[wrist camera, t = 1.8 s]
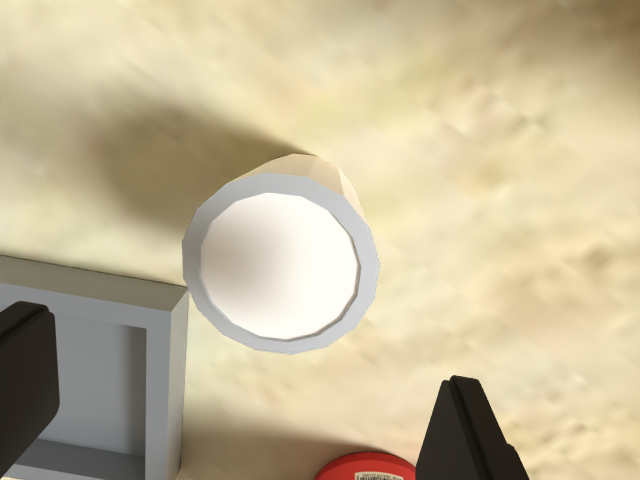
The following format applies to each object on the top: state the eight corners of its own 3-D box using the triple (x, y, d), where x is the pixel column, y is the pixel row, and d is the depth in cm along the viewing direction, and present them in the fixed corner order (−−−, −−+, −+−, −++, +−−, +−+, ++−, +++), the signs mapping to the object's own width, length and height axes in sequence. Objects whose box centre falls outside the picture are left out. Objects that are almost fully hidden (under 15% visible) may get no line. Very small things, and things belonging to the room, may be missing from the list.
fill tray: (-57, 245, 23) (-103, 264, 21) (189, 287, 23) (171, 311, 21) (-23, 433, 28) (-57, 466, 26) (180, 468, 28) (164, 504, 26)
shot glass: (243, 278, 23) (201, 360, 16) (219, 146, 20) (158, 182, 14) (374, 269, 22) (385, 352, 16) (366, 133, 20) (374, 163, 13)
